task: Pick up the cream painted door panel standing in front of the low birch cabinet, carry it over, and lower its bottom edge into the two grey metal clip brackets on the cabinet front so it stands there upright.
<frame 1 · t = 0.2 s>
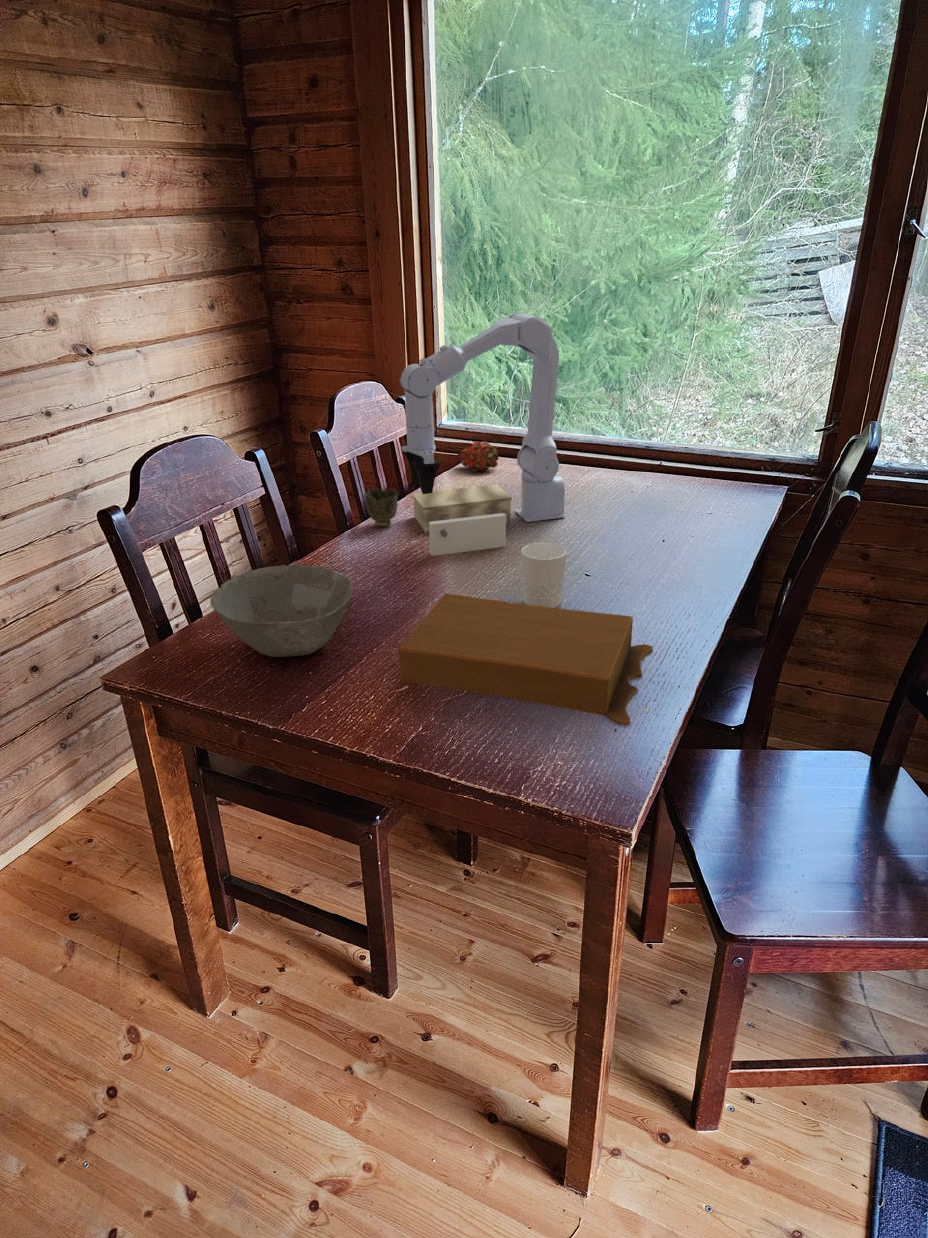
hand: (422, 487, 180), 10 cm above the table, fingers open, 7 cm apart
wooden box: (528, 670, 131), on the table
cabinet: (471, 529, 185), on the table
door: (468, 550, 174), on the table
ceramic bowl: (290, 647, 138), on the table
cup: (383, 526, 188), on the table
white cup: (542, 603, 151), on the table
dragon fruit: (478, 471, 225), on the table
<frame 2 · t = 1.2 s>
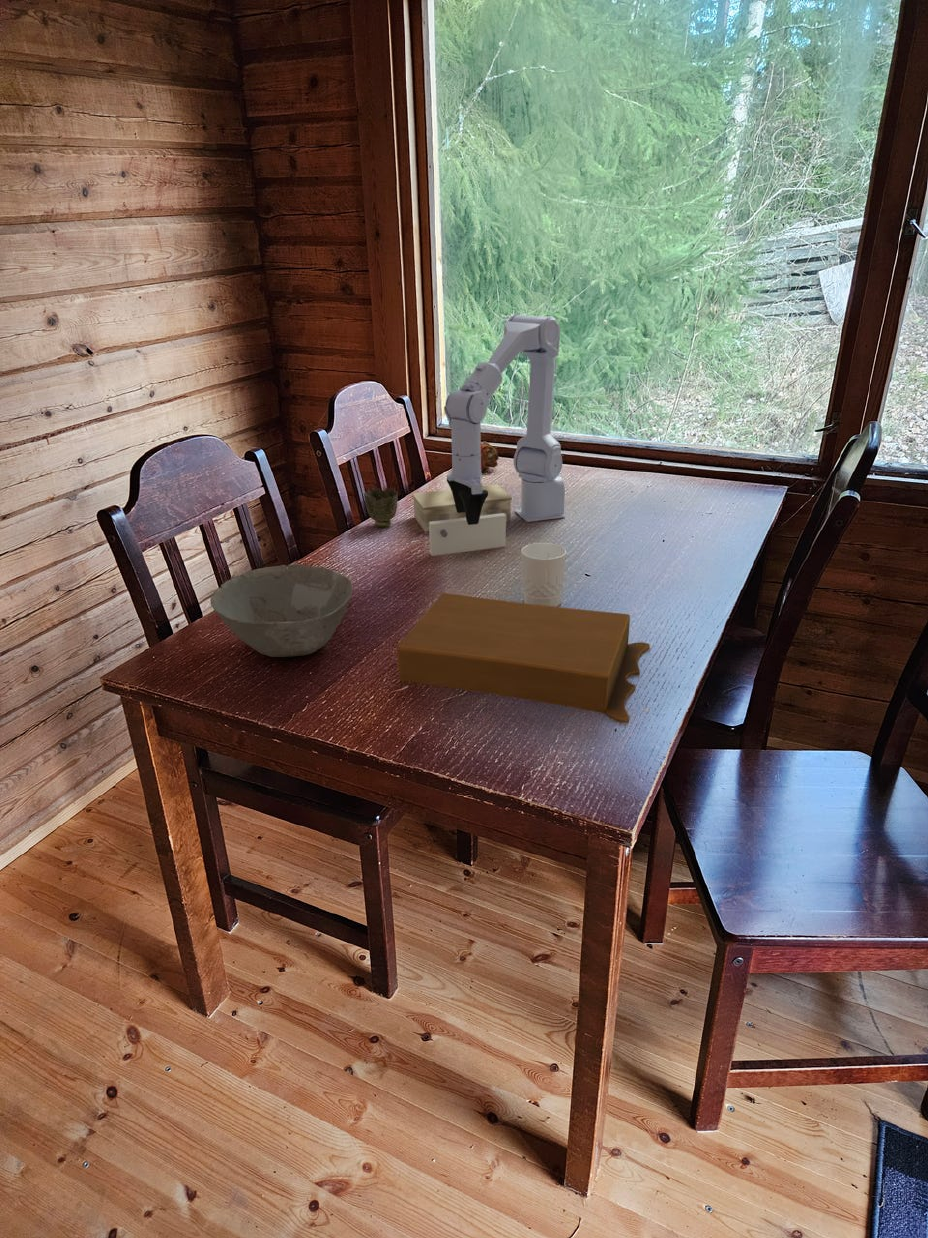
hand: (467, 517, 171), 7 cm above the table, fingers open, 7 cm apart
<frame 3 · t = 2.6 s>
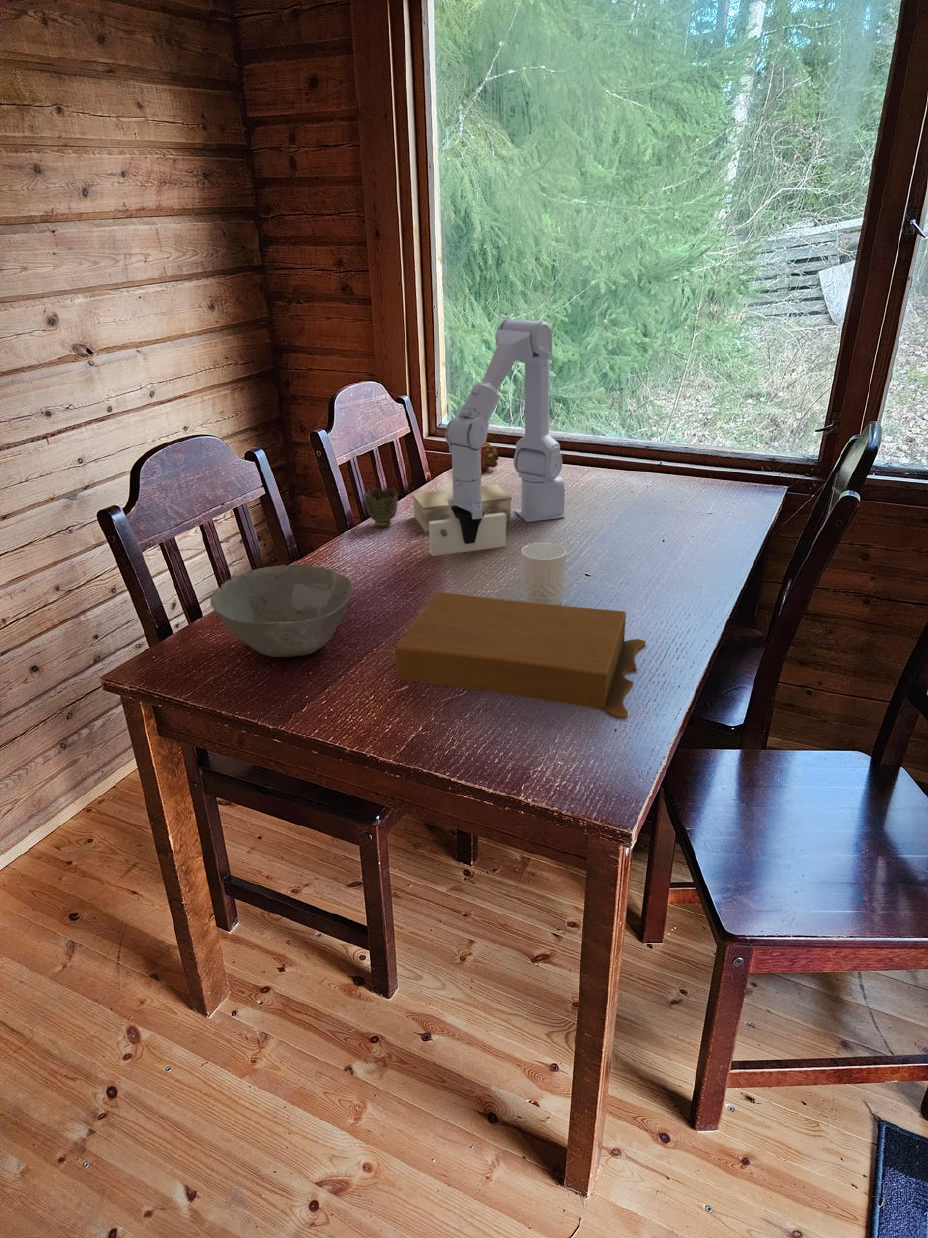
hand: (468, 541, 173), 2 cm above the table, fingers closed on door, 2 cm apart
door: (468, 549, 174), on the table, touching gripper
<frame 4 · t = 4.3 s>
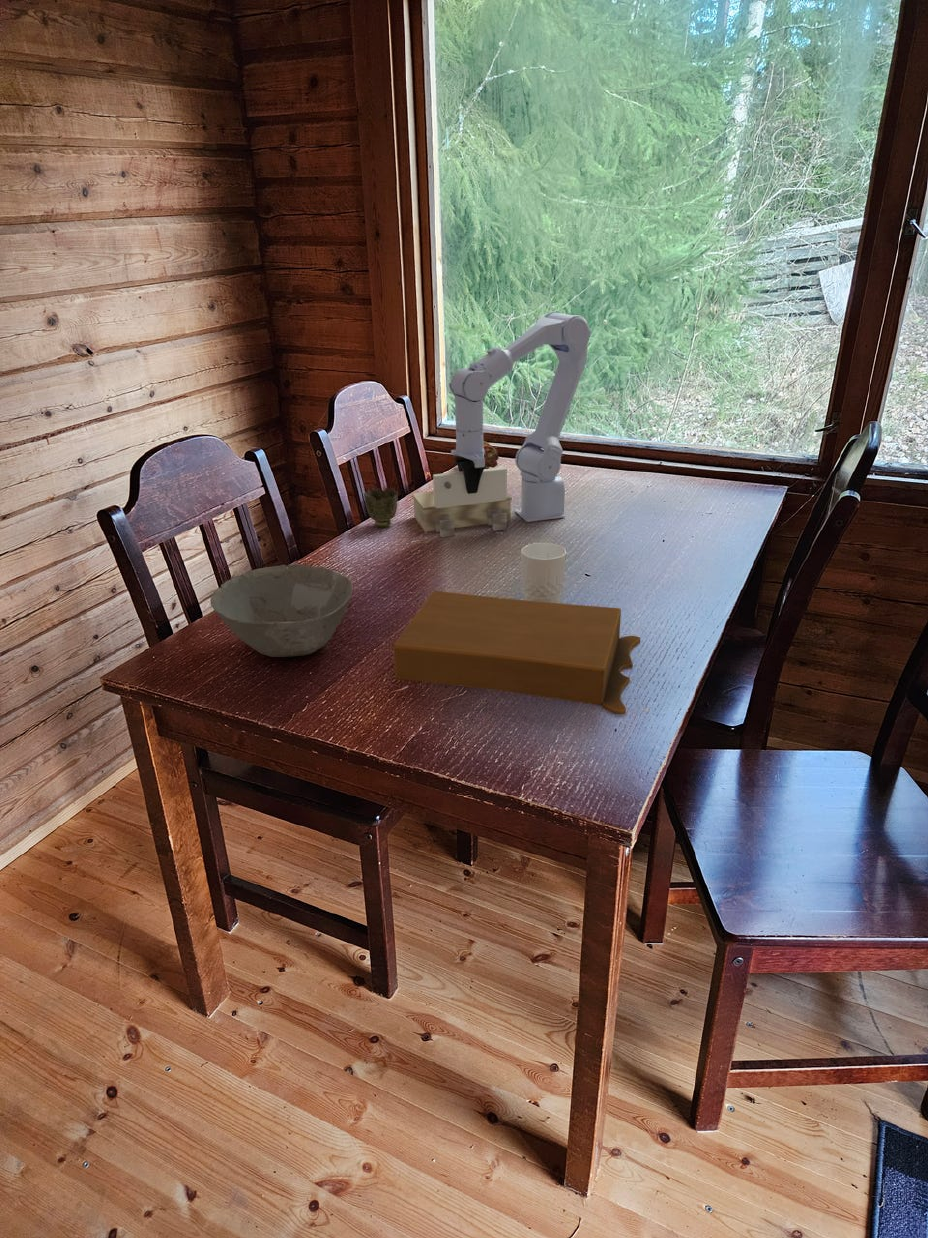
hand: (470, 491, 181), 9 cm above the table, fingers closed on door
door: (470, 503, 182), point 6 cm above the table, touching gripper
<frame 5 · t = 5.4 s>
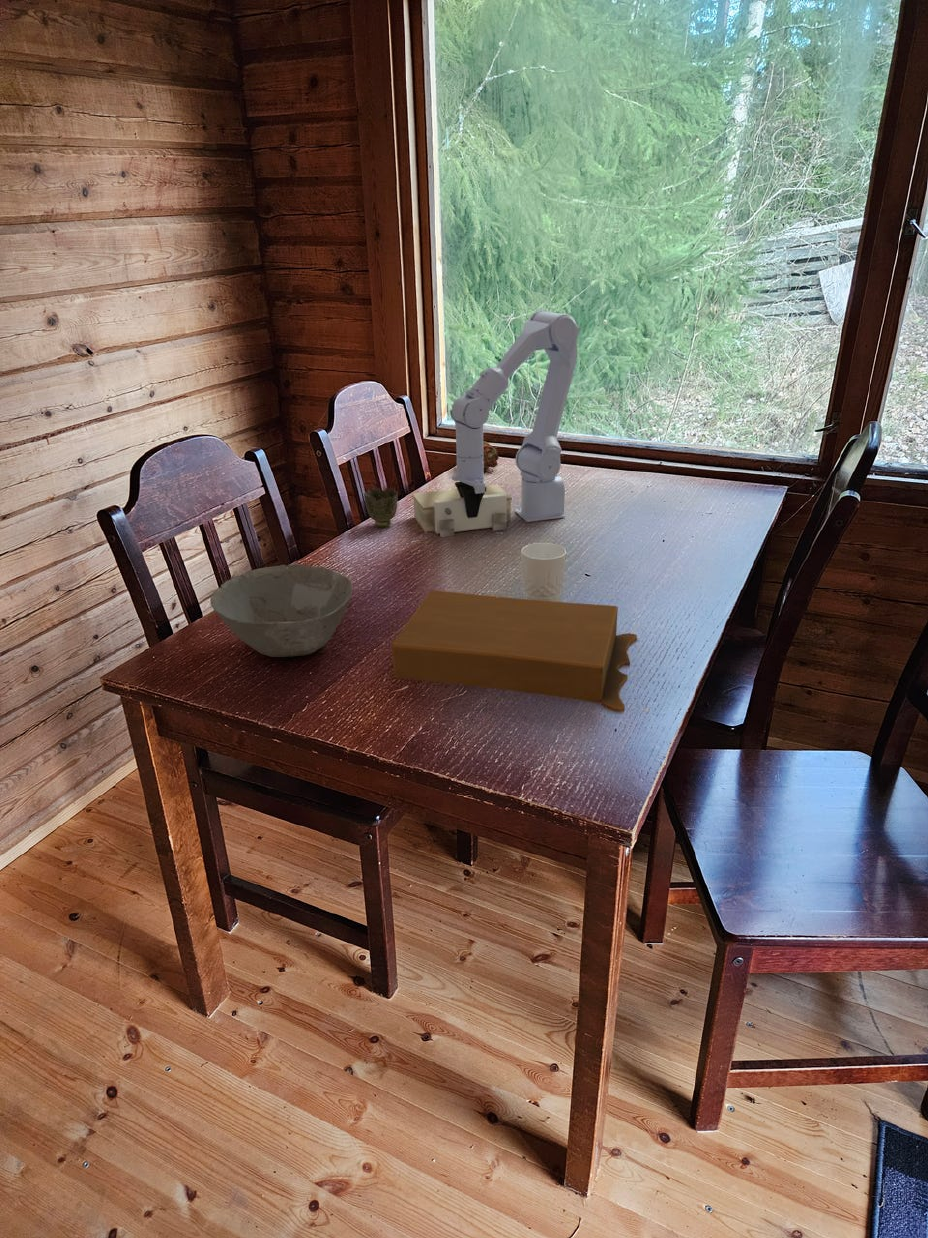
hand: (470, 515, 183), 3 cm above the table, fingers closed on door, 2 cm apart
door: (470, 528, 185), on the table, touching gripper
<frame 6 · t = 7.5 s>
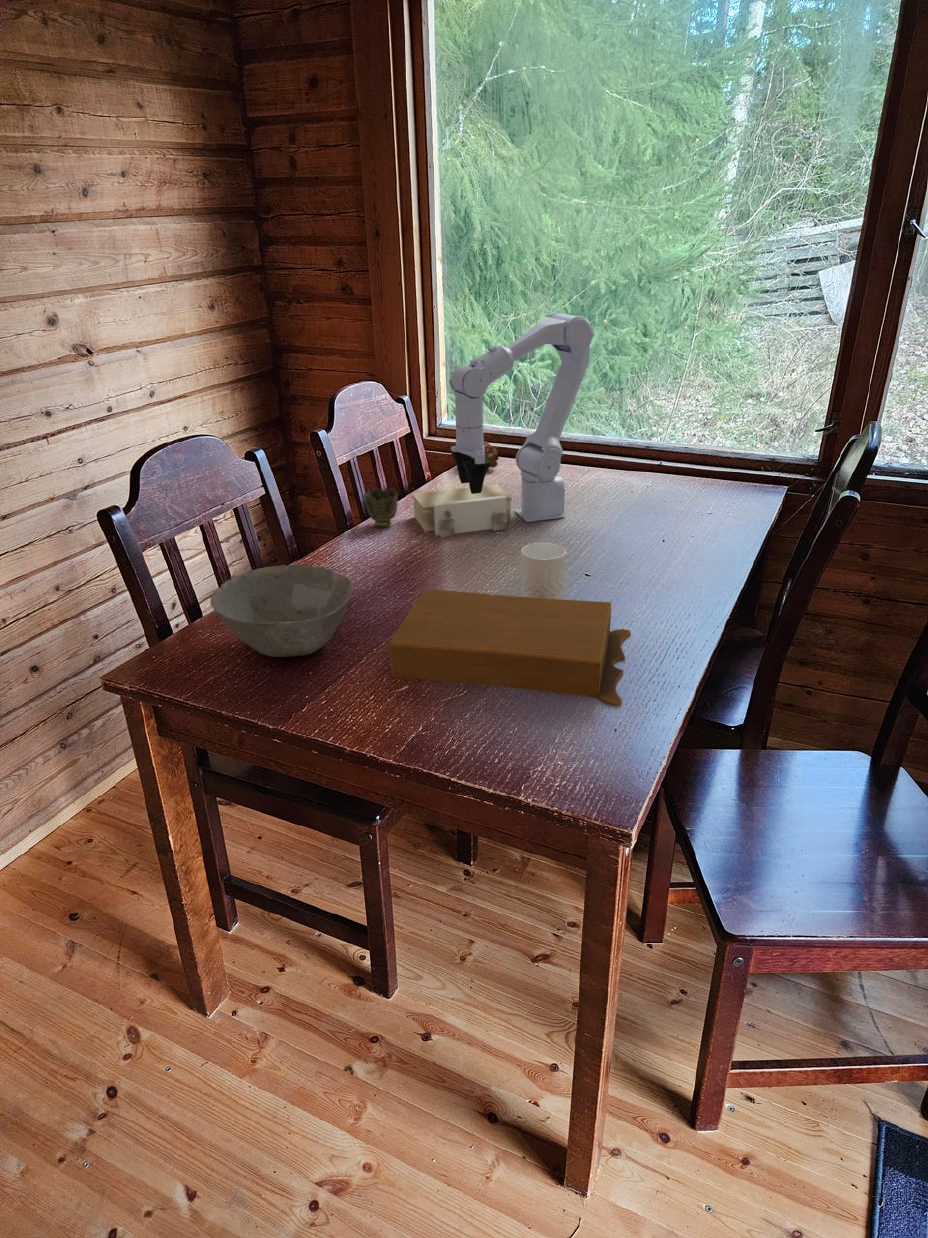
hand: (470, 487, 181), 9 cm above the table, fingers open, 7 cm apart
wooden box: (515, 659, 134), on the table
door: (470, 530, 185), on the table
everything else where it was.
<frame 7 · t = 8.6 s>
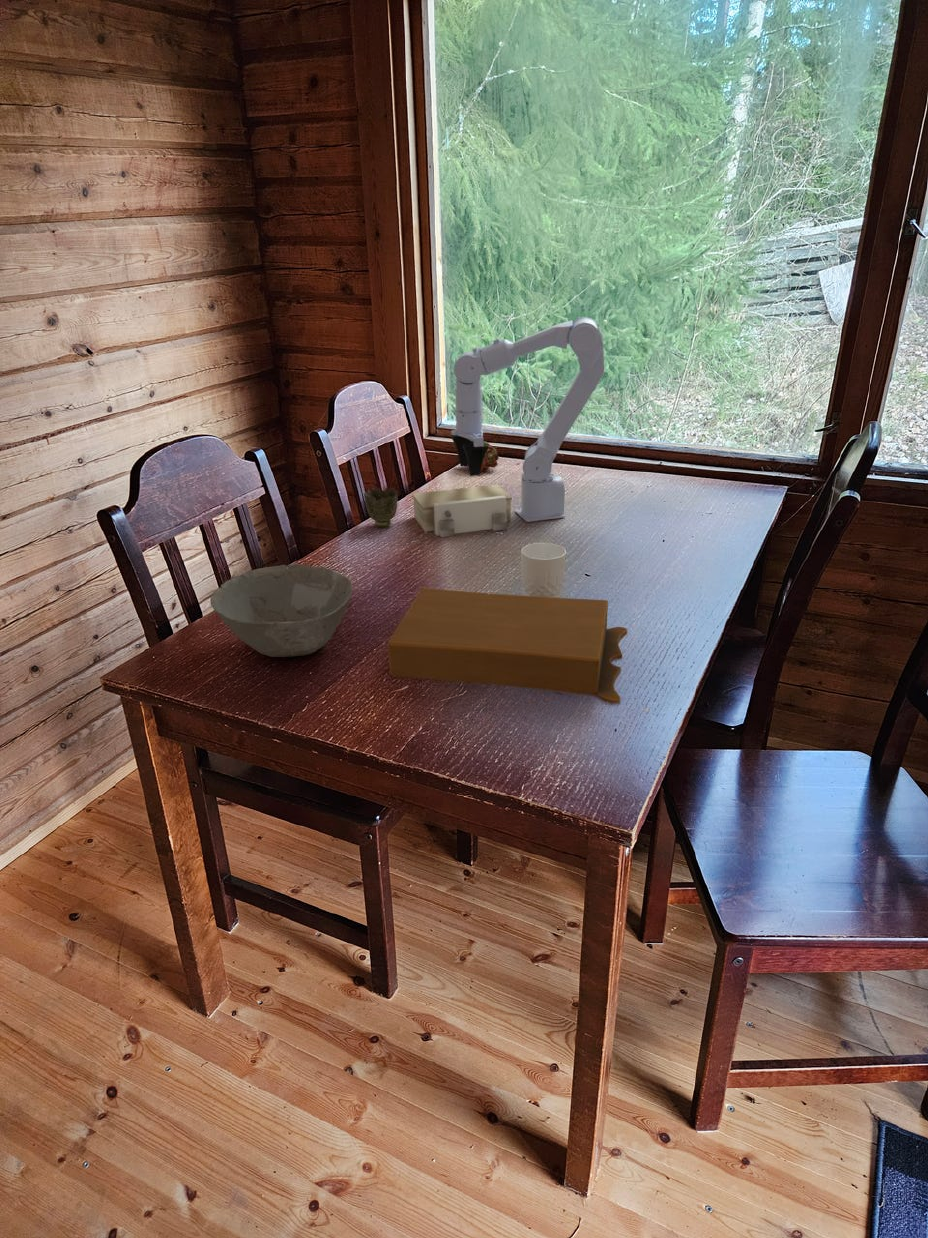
hand: (469, 470, 189), 10 cm above the table, fingers open, 7 cm apart
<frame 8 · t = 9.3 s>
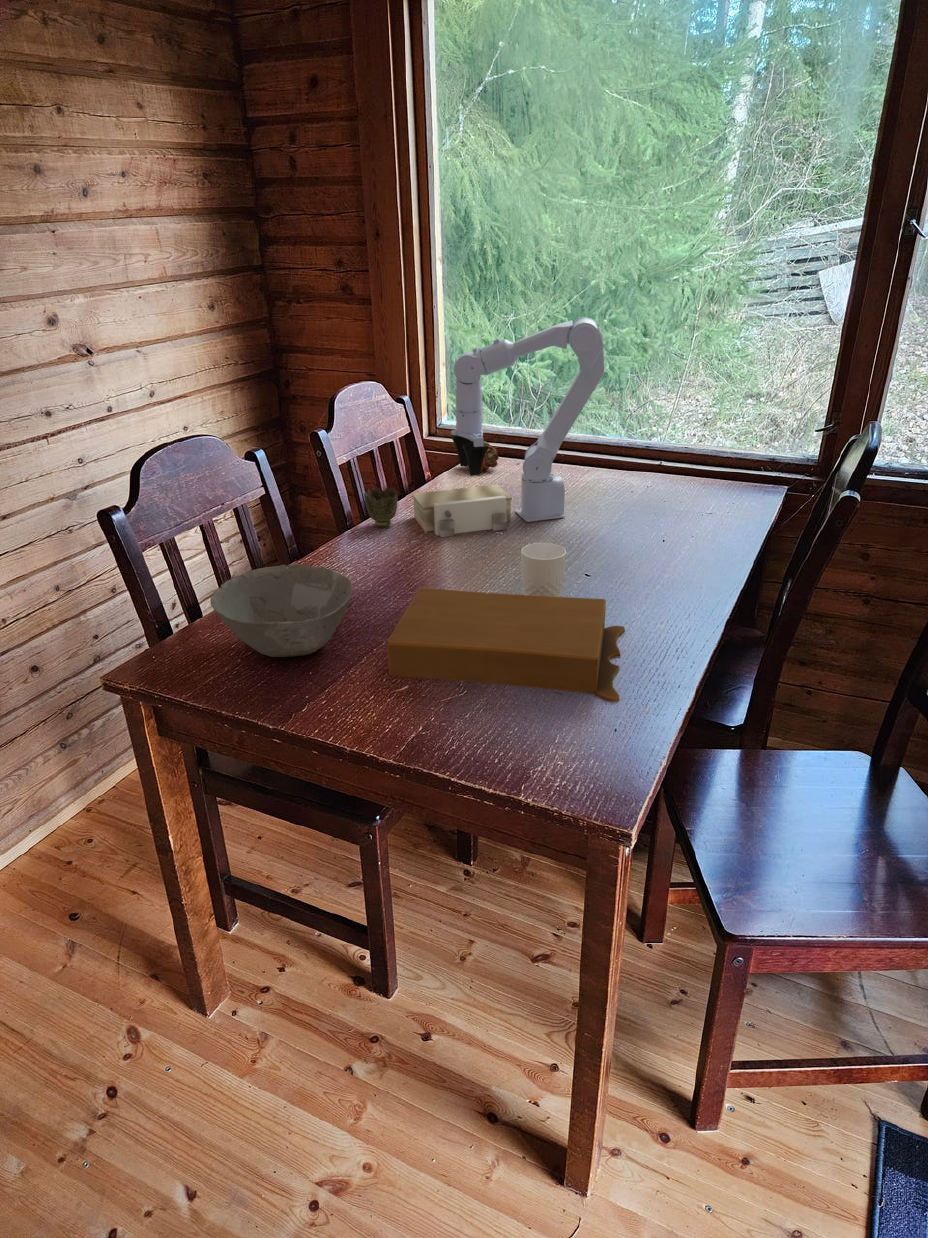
hand: (469, 470, 189), 10 cm above the table, fingers open, 7 cm apart
at the end: door 0.1 cm off-centre on the cabinet, point 0.0 cm above the cabinet's base; door tilted 0°; the gripper is holding nothing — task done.
